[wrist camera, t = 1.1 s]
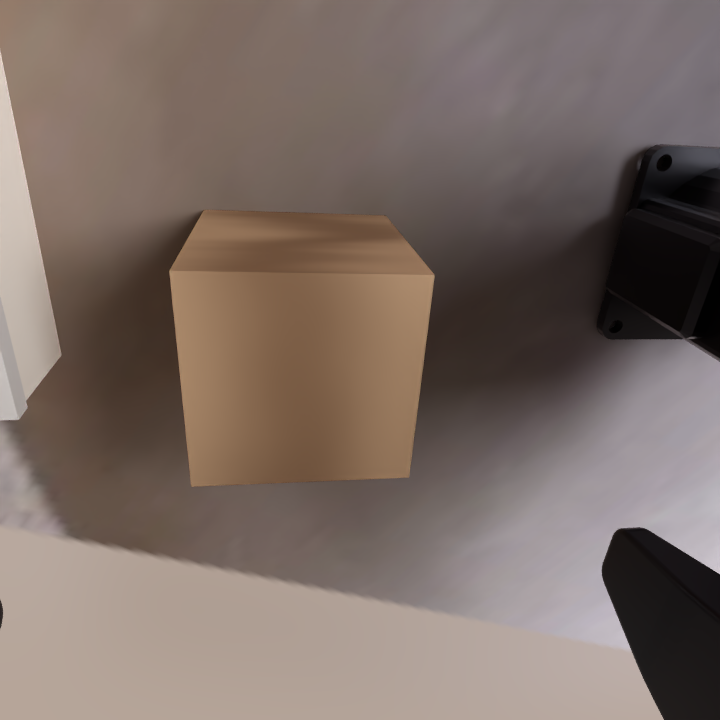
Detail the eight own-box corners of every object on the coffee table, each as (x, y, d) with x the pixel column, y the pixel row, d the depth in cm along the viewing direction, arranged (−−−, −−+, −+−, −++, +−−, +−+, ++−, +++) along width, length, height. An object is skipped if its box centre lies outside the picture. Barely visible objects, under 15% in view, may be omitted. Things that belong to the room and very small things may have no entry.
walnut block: (385, 214, 17) (434, 274, 12) (372, 370, 19) (408, 477, 14) (204, 209, 16) (169, 270, 11) (215, 371, 19) (191, 486, 13)
